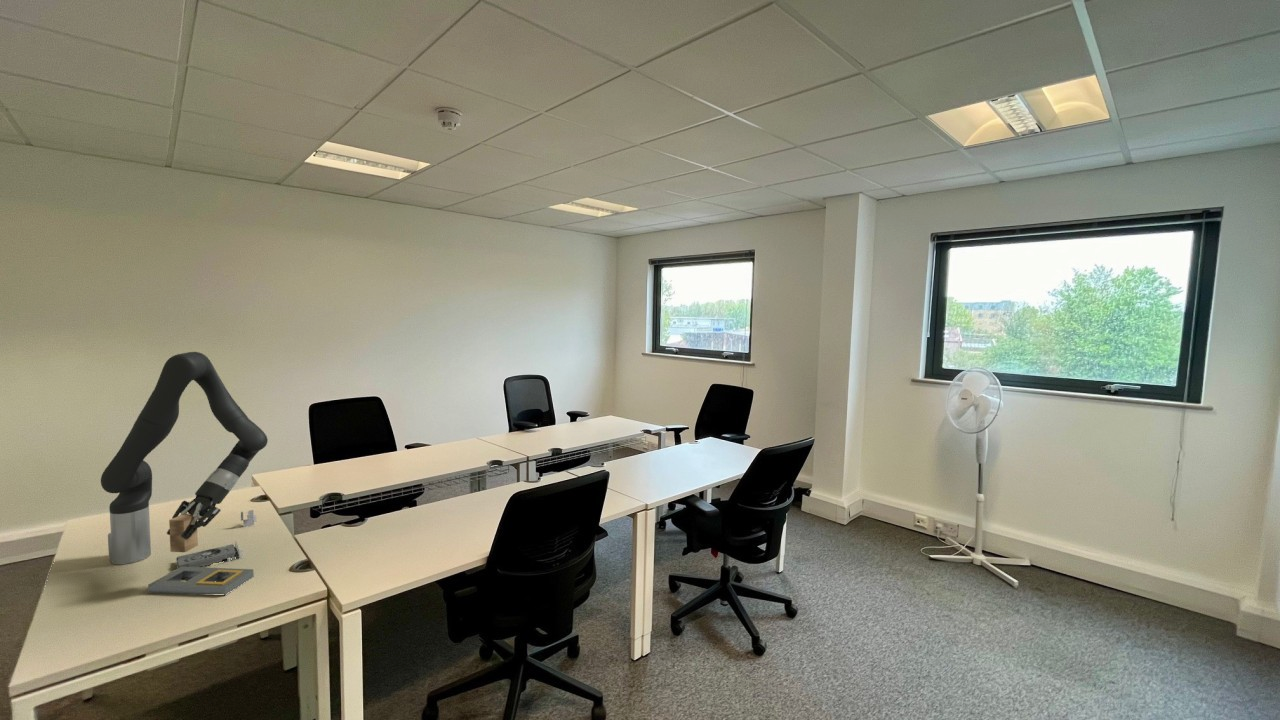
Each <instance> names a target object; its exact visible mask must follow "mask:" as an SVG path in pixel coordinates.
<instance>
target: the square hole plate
mask: <svg viewBox="0 0 1280 720" xmlns="http://www.w3.org/2000/svg"><path fill="white" fill-rule="evenodd" d="M254 574H255V573H254V569H250V568H228V567H227V568H226V567H205V566H202V567H180V568H178V569H177V568H176V569H174V570H172V571H171V572H169V573H167V574H166V575H163V576H162V577H160V578H158V579H156V580H154V581H153V582H150V583H149V584H147V589H148V591H147V592H148V594H167V595H169V594H170V595H172V594H173V595H190V594H224V595H226V594H227V593H228V592H230V591H232V590H233V589H235V588H236V589H238V588H239V587H241V586H242V585H244V584H245V583H247V582H248V581H249V579H250V580H251V579H252V577H253V578H254ZM186 578H190V579H187V580H186V581H182V580H184V579H186ZM219 579H221V580H220V581H219ZM223 579H225V580H223ZM217 580H218V581H217ZM215 581H216V582H215ZM246 581H247V582H246ZM244 582H245V583H244ZM243 583H244V584H243ZM241 584H242V585H241ZM240 585H241V586H240ZM238 586H239V587H238ZM237 587H238V588H237ZM236 589H235V590H236ZM233 591H234V590H233ZM233 591H232V592H233ZM230 593H231V592H230ZM227 595H228V594H227ZM227 595H226V596H227Z"/></svg>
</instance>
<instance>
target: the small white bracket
mask: <svg viewBox="0 0 1280 720" xmlns="http://www.w3.org/2000/svg"><path fill="white" fill-rule="evenodd" d="M240 521H241V522H242V521H243V523H242V524H243V525H242V526H243V528H247V526H248V527H252V526H251V525H254V526H255V523H257V514H254V509H251V510H248V511H247V513H246V519H244V511H240ZM254 522H255V523H254Z"/></svg>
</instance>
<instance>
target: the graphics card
mask: <svg viewBox="0 0 1280 720" xmlns="http://www.w3.org/2000/svg"><path fill="white" fill-rule="evenodd" d="M235 547H236V548H235ZM235 557H236V559H235ZM231 558H232V560H231ZM243 558H244V550H243V549H240V547H239V546H238V543H237V540H236V539H234V544H233V543H232V544H226V545H222V546H219V547H215V548H210V549H209V548H208V549H205V550H201V551H196V552H193V553H187V554H182V555H179V556H177V557H176V562H175V565H176V569H178V568H180V567H200V566H202V567H205V566H204V565H207V566H208V564H213V563H219V562H223V560H224V562H223V563H221V564H226V563H230V562H234V561H237V560H240V559H243ZM226 559H227V560H226ZM221 564H220V565H221Z"/></svg>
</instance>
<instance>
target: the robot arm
mask: <svg viewBox="0 0 1280 720" xmlns="http://www.w3.org/2000/svg"><path fill="white" fill-rule="evenodd" d="M159 374H160V375H159V377H158V380H157V382H156V384H155V387H154V388H153V391H152V392H151V394H150V396H149V397H148V399H147V401H146V403H145V404H144V406H143V408H142V410H141V411H140V413H139V415H138V416H137V419H136V420H135V421H134V423H133V425H132V428H131V429H130V431H129V433H128V434H127V436H126V438H125V440H124V441H123V443H122V445H121V446H120V449H118V451H117V453H116V454H115V456H113V458H112V460H111V461H110V462H109V464H108V465H107V466H106V467H105V468H104V469H103V472H102V474H101V477H100V484H101V485H100V486H101V488H102V489H103V490H104V491H105V492H107V493H109V494H118V495H117V496H116V497H115V498H114V499H113V500H112V501H111V502H110V504H109V507H108V508H109V522H110V532H109V533H108V534H107V542H108V543H107V545H108V549H107V550H108V561H109V563H110V562H111V563H112V564H114V565H127V564H132V563H137V562H140V561H143V560H144V559H147V558H148V557H150V556H151V555H152V547H151V541H152V540H151V522H150V521H151V520H150V500H151V498H152V494H153V493H152V492H153V470H152V468H151V466H150V465H149V463H148V462H147V461H145V458H146V457H147V456H148V455H150V453H151V452H153V450H155V449H156V447H158V446H159V445H160V444H161V443H162V442H163V441H164V440H165V439H166V438H167V437H168V436H169V434H170V433H171V432H172V429H173V428H174V426H175V424H176V422H177V420H178V419H179V415H180V414H179V413H180V399H181V397H182V395H183V393H184V392H185V389H186V388H187V387H188V385H189V384H190V383H191V382H192V381H194V382H195V383H196V384H197V385H198V386H199V387H200V388H201V389H202V391H203V392H204V394H205V396H206V398H207V402H208V404H209V407H210V411H211V413H212V415H213V416H214V417H215V419H216V420H217V421H218V422H219V423H220V424H221V426H222V427H223V428H224V429H225V430H226V431H227V432H228V433H232V434H233V435H234V436H235V437H236V438H237V439H238V441H237V443H236V444H235V445H234V446H233V447H232V449H231V450H230V452H229V454H228V455H227V456H226V457H225V458H224V459H223V460H222V462H220V463H219V465H218V466H217V467H216V468H215V470H213V472H211V473H210V474H209V475H208V477H206V479H205V480H204V482H203V483H202V484H201V486H199V488H198V489H197V490H196V491H195V493H194V495H195V498H193V499H192V500H191V501H187V500H183V501H182V502H181V503H180V505H179V506H178V508H177V509H176V510H175V512H174V514H173V515H172V518H171V519H173V518H175V517H177V516H180V515H184V514H189V515H193V520H192V523H191V525H189V526H188V527H187V529H186V530H185V531H184V532H183V534H182V535H181V537H182V538H184V539H189V537H191V536H192V534H193V533H194V532H195V531H196V529H197V530H198V529H199V528H201V527H206V526H207V525H209V523H211V522H212V520H213V519H214V518H215V517H216V516H217V515H219V513H220V512H221V508H218V507H217V505H220V504H221V503H222V502H223V501H224V500H225V499H226V497H227V496H228V494H229V493H230V492H231V491H232V490H233V488H234V487H235V485H236V484H237V482H238V480H239V479H240V478H241V476H242V475H243V474H244V473H245V471H246V470H247V469H248V467H249V464H250V463H251V461H252V460H253V459H254V457H255V456H256V455H257V454H258V453H259V452H260V451H261V450H263V449H264V448H265V447H266V446H267V445H268V439H269V438H268V436H267V434H266V433H265V431H263V430H262V429H261V427H260V426H258V425H257V424H256V423H255V422H253V421H252V420H251V419H250V418H249V417H248V416H247V414H246V413H245V412H244V410H243V409H242V408H241V407H240V406H239V405H238V403H237V402H236V401H235V399H234V398H233V396H232V395H231V393H230V392H229V390H228V389H227V388H226V386H225V384H224V383H223V381H222V380H221V379H222V378H220V376H219V374H218V372H217V370H216V368H215V367H214V365H213V363H212V362H211V359H209V357H208V356H206V355H205V354H203V353H202V352H199V351H189V352H188V351H187V352H183V353H182V352H181V353H177V354H175V355H172V356H171V357H170V358H168V359H167V360H166V362H165V363H164V365H163V367H162V369H161V372H160V373H159ZM166 534H167V535H169V536H170V528H169V529H168V530H167V532H166Z"/></svg>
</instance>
